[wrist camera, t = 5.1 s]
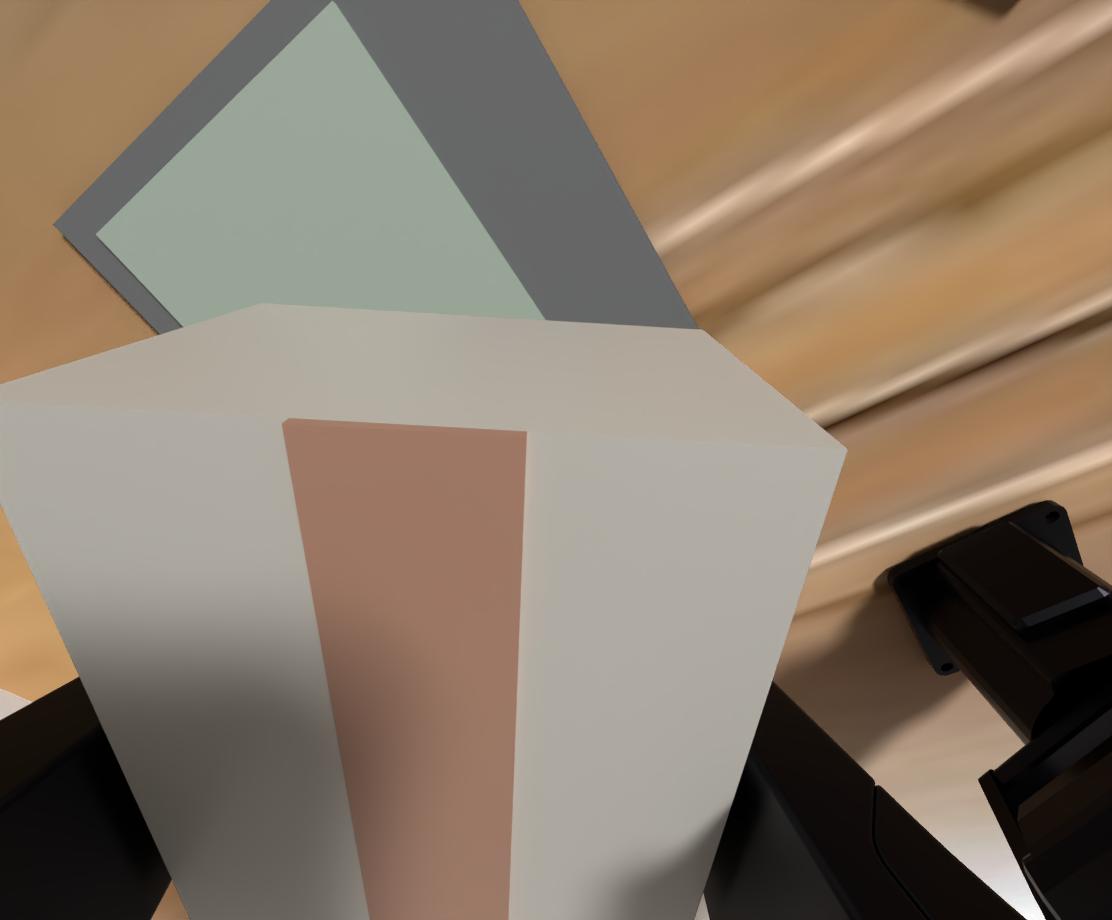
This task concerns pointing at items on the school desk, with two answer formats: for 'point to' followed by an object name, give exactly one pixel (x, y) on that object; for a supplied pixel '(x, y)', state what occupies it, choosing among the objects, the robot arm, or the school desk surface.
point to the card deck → (421, 601)
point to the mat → (374, 178)
